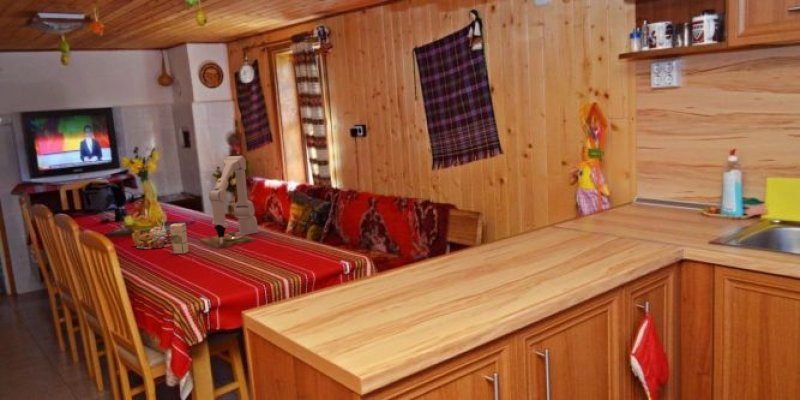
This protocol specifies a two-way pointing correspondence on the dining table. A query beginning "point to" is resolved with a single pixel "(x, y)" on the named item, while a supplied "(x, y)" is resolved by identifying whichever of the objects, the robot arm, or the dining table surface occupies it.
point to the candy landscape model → (152, 238)
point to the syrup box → (179, 238)
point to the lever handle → (225, 237)
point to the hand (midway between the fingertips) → (221, 239)
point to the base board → (216, 242)
